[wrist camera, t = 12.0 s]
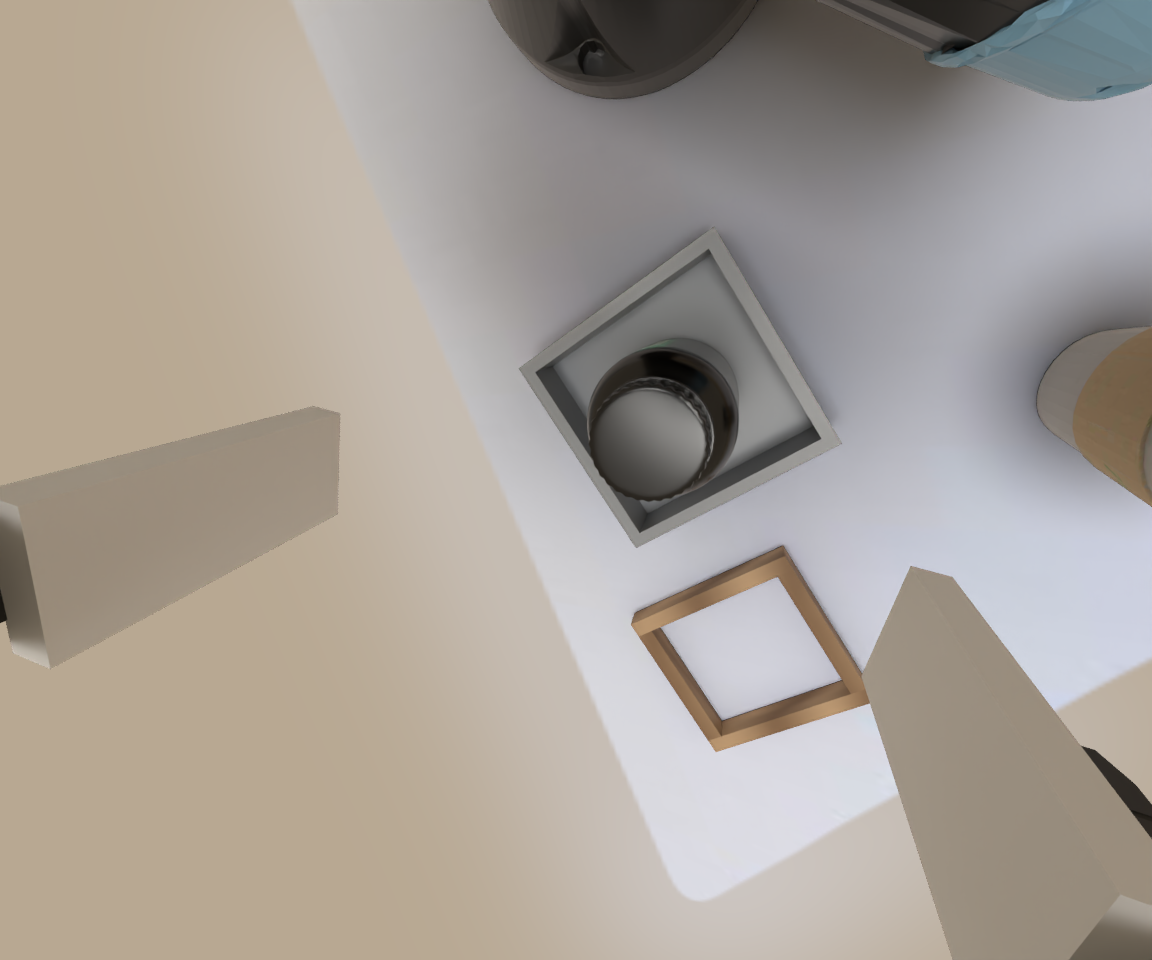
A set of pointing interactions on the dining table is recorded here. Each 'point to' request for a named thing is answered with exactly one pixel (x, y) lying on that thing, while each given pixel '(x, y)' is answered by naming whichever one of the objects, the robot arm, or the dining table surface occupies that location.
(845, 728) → the dining table surface
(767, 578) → the wooden square frame
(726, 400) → the supplement bottle
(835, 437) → the bin
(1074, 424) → the coffee cup
